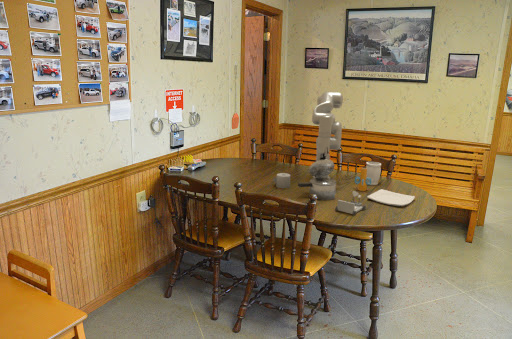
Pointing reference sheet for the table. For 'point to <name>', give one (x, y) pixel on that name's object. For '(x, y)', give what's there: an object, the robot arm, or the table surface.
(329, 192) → the pot
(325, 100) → the robot arm
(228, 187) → the table surface
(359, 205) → the toy car
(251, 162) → the table surface
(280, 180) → the toilet tissue
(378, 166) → the jar
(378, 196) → the plate
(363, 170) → the orange blue upright piece
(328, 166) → the lid
